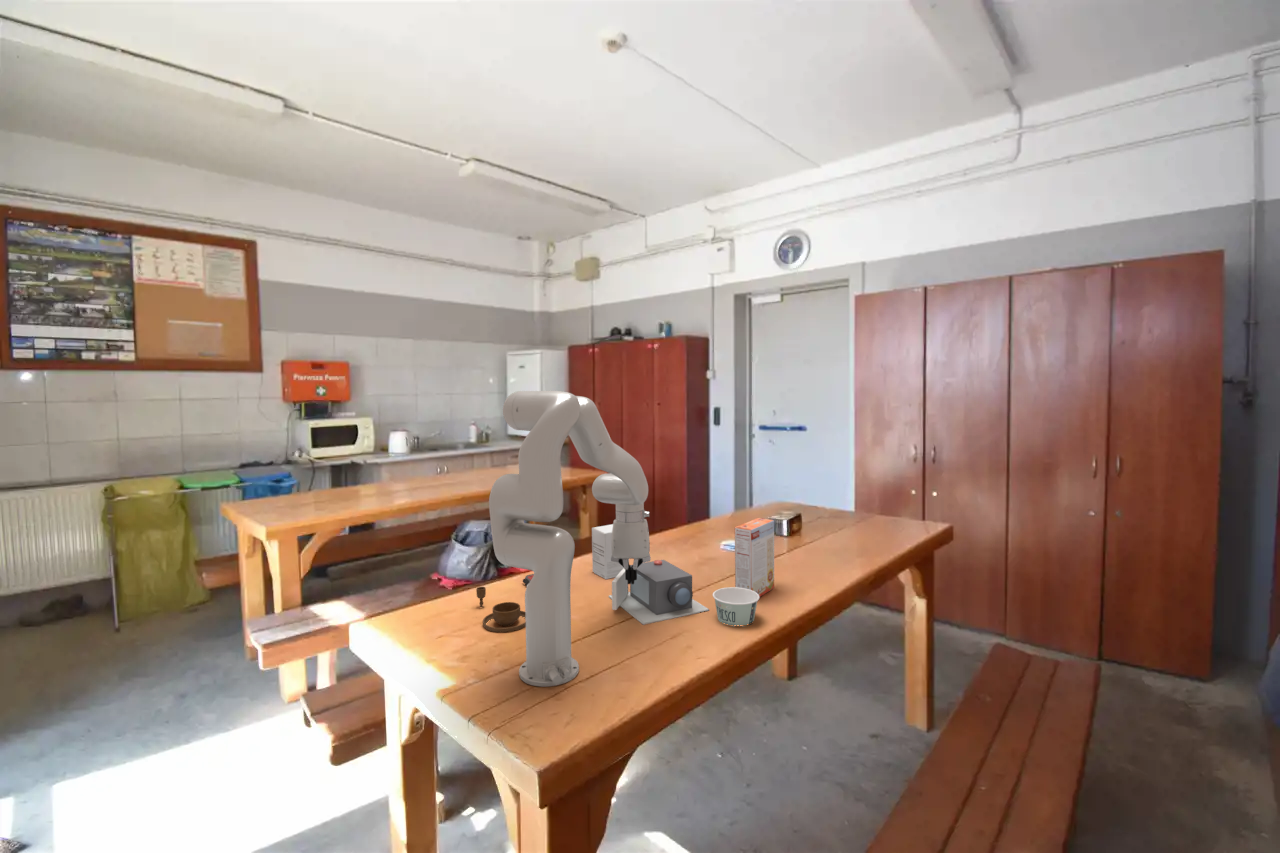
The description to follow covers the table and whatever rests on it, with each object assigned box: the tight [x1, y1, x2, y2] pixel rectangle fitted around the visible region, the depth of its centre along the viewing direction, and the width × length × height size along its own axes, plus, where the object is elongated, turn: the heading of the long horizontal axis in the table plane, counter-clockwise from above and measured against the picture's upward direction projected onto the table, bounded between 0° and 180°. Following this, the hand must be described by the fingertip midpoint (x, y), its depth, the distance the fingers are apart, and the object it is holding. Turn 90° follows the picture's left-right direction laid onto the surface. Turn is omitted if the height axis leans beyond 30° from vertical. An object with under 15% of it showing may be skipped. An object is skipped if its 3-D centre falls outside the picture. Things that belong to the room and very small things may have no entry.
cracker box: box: [734, 517, 775, 598], centre depth 172 cm, size 14×6×21 cm, turn 141°
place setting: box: [475, 586, 526, 633], centre depth 156 cm, size 18×20×6 cm
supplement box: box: [591, 523, 630, 580], centre depth 191 cm, size 9×9×15 cm
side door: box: [611, 568, 629, 611], centre depth 164 cm, size 13×1×8 cm, turn 166°
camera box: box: [608, 559, 710, 626], centre depth 165 cm, size 22×20×10 cm
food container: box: [712, 586, 761, 627], centre depth 154 cm, size 12×12×6 cm
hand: (631, 582), depth 160 cm, fingers closed
